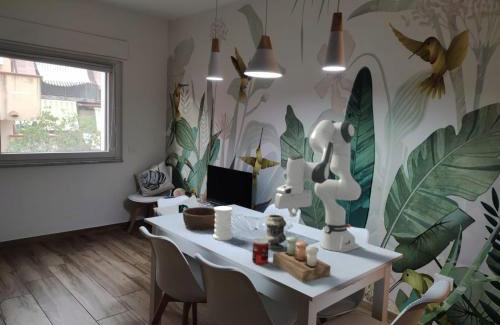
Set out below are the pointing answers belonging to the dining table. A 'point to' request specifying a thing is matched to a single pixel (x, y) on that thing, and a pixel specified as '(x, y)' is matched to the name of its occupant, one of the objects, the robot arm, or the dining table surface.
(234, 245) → the dining table surface
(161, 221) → the dining table surface
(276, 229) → the apothecary jar
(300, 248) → the peach mushroom knob
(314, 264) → the cream plunger
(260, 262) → the canned food
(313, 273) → the walnut board
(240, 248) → the dining table surface
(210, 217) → the wooden bowl
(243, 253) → the dining table surface
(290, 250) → the sage plunger
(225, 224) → the decorative container
